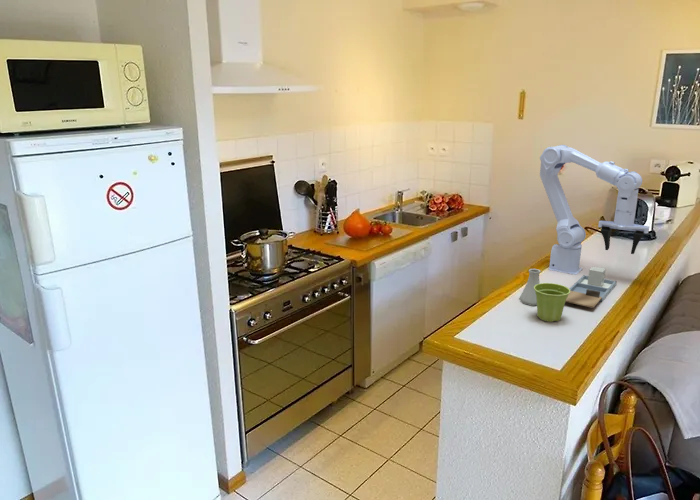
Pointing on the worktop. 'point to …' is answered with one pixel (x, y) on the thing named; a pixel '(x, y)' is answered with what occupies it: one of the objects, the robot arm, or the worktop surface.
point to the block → (596, 276)
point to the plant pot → (550, 300)
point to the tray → (593, 287)
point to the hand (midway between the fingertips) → (619, 251)
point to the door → (584, 298)
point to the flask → (530, 288)
